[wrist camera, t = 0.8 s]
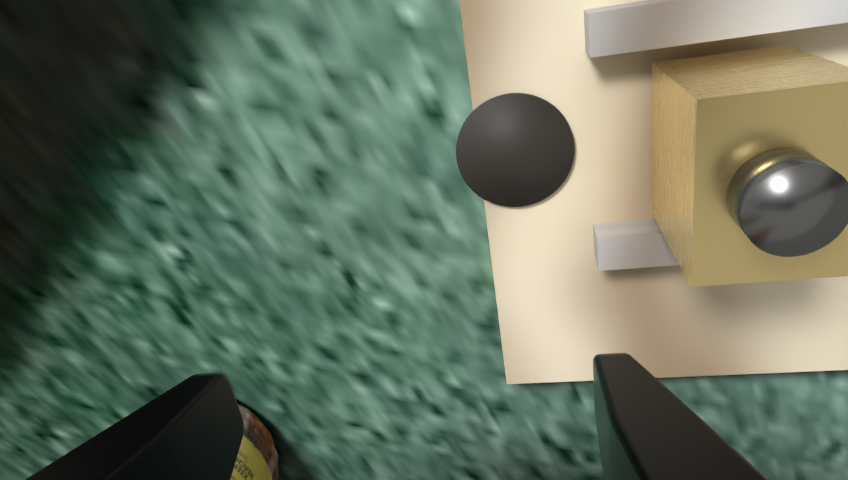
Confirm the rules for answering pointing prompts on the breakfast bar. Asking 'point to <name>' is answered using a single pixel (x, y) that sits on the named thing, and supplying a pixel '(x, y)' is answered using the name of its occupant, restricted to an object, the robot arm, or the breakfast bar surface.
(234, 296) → the breakfast bar surface
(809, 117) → the block
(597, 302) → the plate
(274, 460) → the sauce bottle
